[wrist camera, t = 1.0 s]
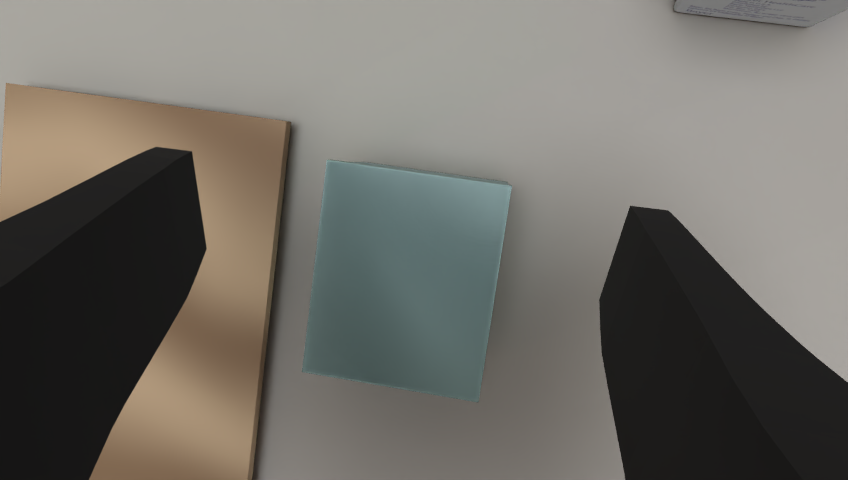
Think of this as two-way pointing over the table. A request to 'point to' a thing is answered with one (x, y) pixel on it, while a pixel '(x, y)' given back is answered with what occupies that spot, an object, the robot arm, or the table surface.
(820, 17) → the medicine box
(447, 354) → the pale teal rectangular block
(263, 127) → the thin wooden board
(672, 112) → the table surface
